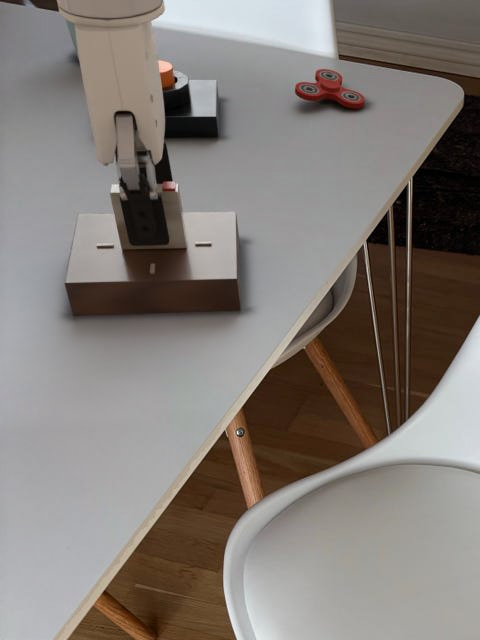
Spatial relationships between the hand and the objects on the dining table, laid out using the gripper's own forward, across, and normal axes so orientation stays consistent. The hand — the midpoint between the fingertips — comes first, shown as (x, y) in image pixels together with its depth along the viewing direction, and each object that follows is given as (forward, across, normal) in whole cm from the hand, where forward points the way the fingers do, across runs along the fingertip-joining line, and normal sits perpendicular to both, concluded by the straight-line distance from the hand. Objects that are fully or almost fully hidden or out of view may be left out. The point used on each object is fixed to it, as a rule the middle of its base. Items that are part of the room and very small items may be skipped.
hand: (152, 215), depth 87 cm
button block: (+6, -34, -1) cm, 34 cm away
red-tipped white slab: (+3, 0, 0) cm, 3 cm away
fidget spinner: (+4, -39, +18) cm, 43 cm away
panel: (+6, 0, 0) cm, 6 cm away
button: (+2, -34, -1) cm, 34 cm away
